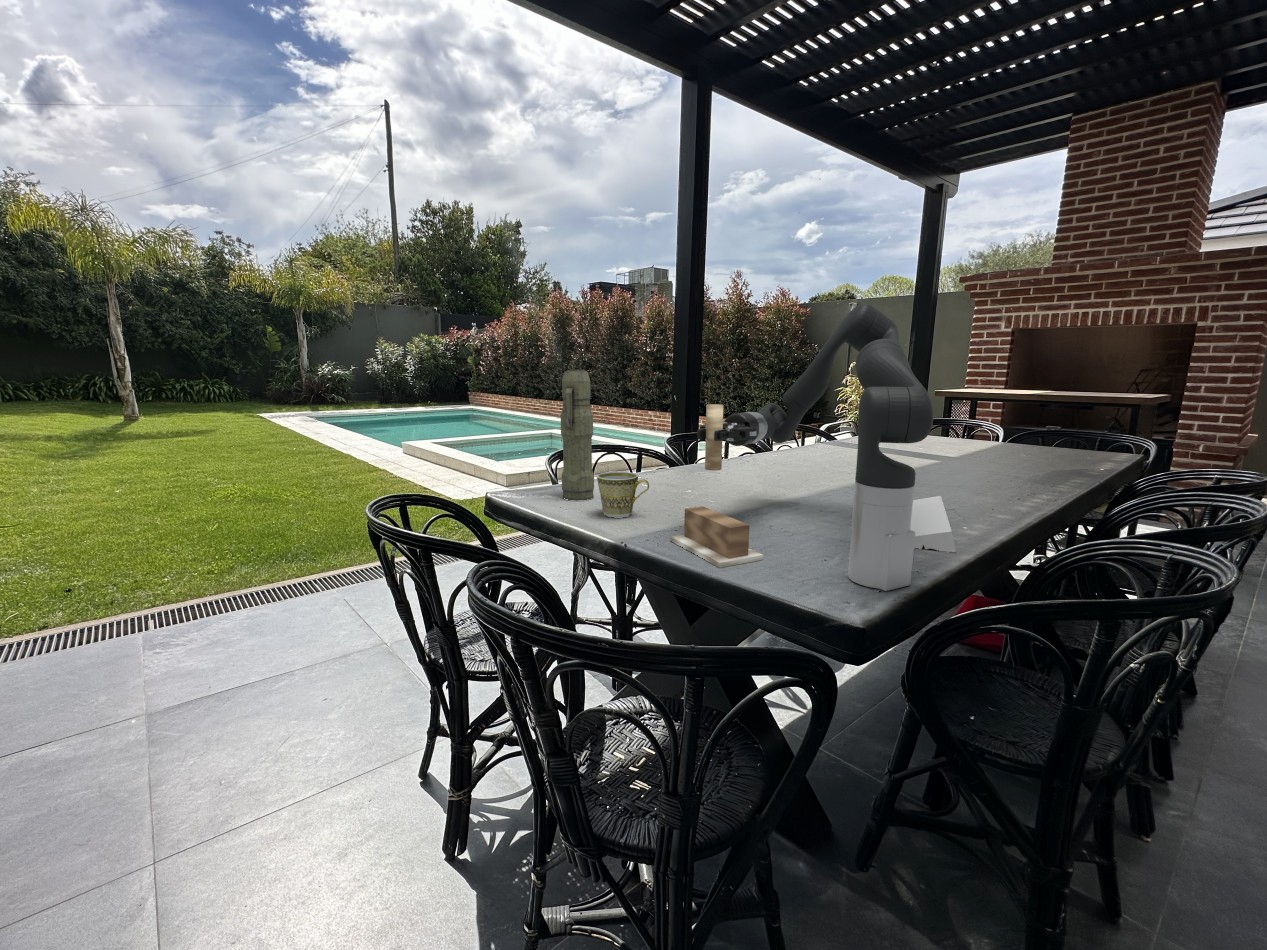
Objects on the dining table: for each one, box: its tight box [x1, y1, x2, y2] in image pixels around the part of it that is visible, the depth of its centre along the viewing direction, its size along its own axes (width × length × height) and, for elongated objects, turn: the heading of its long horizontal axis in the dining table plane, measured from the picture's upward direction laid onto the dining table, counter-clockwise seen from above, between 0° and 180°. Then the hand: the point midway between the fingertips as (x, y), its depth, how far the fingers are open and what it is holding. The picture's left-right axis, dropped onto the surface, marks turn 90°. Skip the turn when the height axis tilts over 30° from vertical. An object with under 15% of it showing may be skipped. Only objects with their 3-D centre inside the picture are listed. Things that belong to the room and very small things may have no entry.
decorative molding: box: [910, 495, 957, 552], centre depth 133 cm, size 34×5×10 cm
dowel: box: [704, 403, 724, 471], centre depth 126 cm, size 4×4×14 cm
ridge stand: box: [670, 506, 764, 568], centre depth 116 cm, size 18×10×7 cm, turn 26°
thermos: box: [560, 369, 595, 501], centre depth 158 cm, size 9×12×35 cm
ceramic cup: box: [596, 471, 650, 519], centre depth 142 cm, size 13×10×10 cm
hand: (707, 435), depth 124 cm, fingers closed on dowel, 3 cm apart
